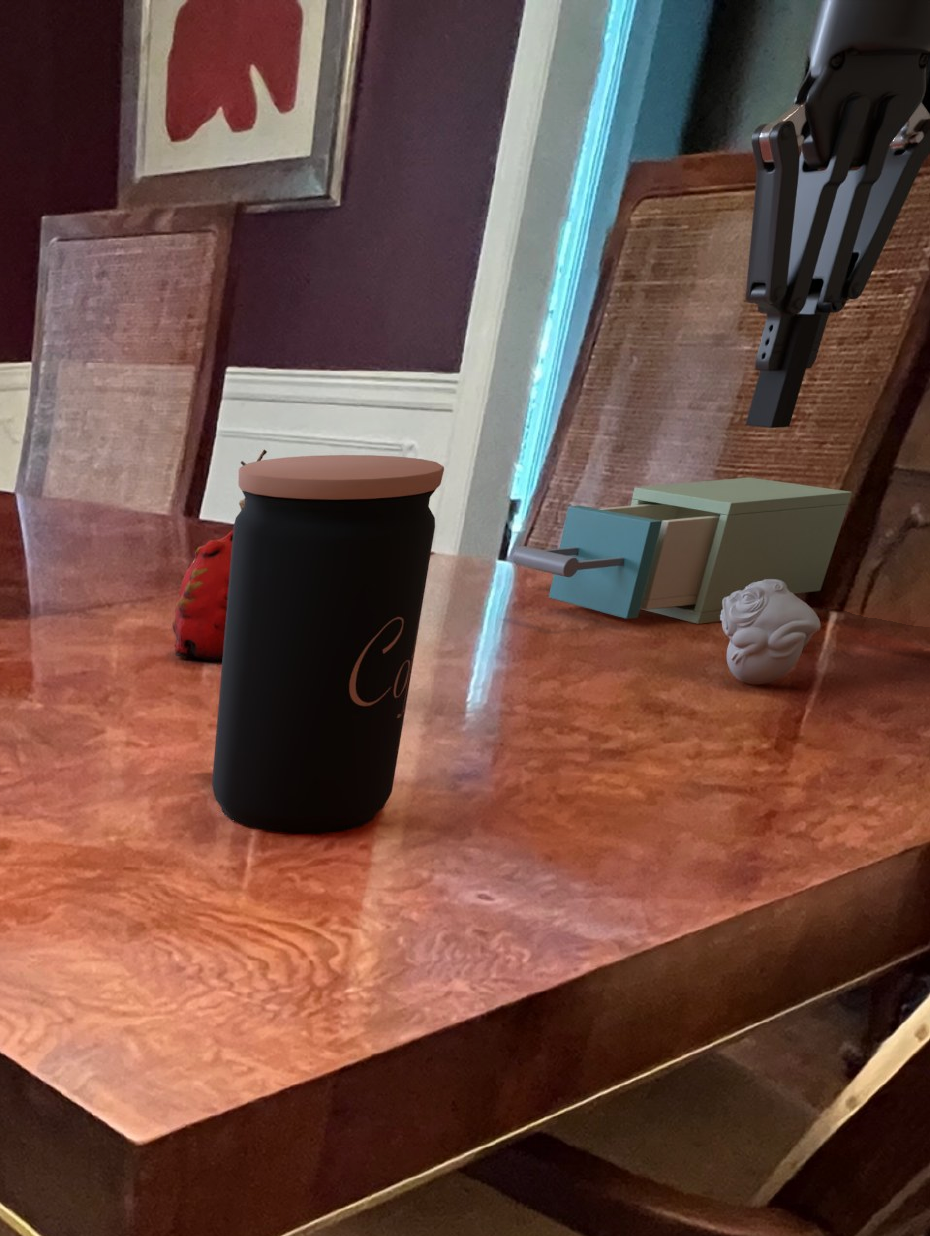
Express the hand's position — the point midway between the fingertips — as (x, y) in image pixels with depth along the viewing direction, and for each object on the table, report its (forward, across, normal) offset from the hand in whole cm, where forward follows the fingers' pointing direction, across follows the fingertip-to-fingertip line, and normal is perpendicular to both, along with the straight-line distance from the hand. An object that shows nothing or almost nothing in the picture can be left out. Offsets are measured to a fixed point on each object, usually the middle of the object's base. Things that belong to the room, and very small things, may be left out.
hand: (767, 425), depth 98 cm
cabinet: (+16, +16, +20) cm, 30 cm away
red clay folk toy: (+16, -34, +18) cm, 42 cm away
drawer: (+15, +5, +19) cm, 25 cm away
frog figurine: (+16, 0, -6) cm, 17 cm away
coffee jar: (+16, -45, -22) cm, 53 cm away
